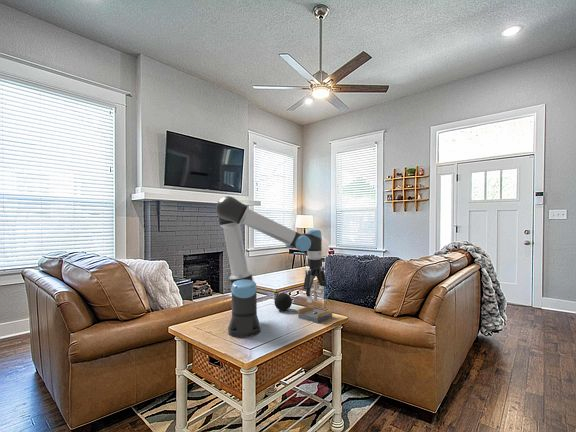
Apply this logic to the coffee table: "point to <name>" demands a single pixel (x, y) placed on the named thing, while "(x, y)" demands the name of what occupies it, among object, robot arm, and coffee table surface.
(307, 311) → the block
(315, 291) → the pipe connector
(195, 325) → the coffee table surface
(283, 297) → the speaker
